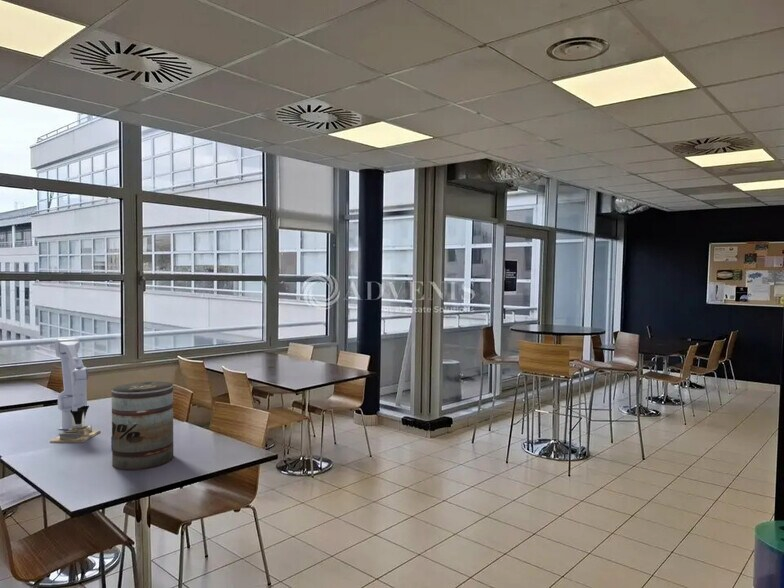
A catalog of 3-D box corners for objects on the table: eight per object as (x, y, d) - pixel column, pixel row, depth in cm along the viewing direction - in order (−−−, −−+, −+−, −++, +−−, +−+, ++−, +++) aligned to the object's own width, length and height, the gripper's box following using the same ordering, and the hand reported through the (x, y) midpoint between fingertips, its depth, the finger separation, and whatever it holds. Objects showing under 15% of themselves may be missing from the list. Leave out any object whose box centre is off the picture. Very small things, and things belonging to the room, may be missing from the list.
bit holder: (70, 432, 257) (70, 425, 256) (100, 432, 257) (100, 425, 257) (50, 442, 241) (49, 434, 241) (81, 442, 241) (81, 434, 241)
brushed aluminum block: (75, 426, 254) (74, 411, 253) (85, 425, 254) (84, 410, 254) (72, 428, 250) (72, 413, 249) (82, 427, 251) (81, 412, 250)
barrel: (108, 458, 220) (107, 385, 219) (166, 448, 233) (165, 379, 232) (116, 474, 201) (116, 394, 201) (179, 462, 214) (179, 388, 214)
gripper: (75, 391, 258) (75, 419, 258) (64, 397, 244) (64, 427, 244) (91, 390, 260) (92, 418, 260) (81, 397, 245) (82, 426, 246)
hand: (80, 423), depth 252 cm, fingers closed on brushed aluminum block, 4 cm apart
